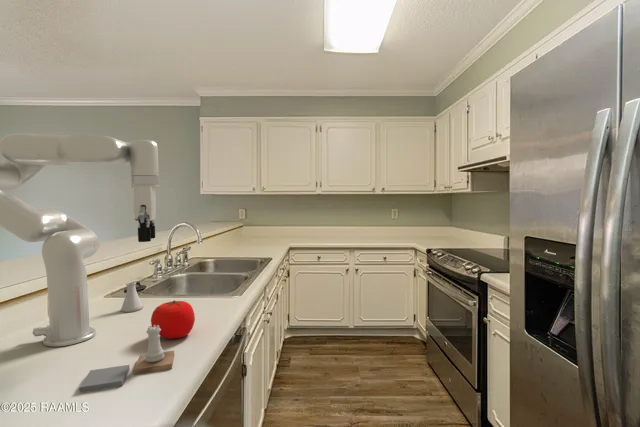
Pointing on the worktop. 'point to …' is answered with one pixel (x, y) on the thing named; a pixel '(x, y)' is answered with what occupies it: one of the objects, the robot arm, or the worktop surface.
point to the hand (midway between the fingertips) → (147, 240)
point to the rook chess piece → (154, 345)
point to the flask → (131, 299)
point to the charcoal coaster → (104, 378)
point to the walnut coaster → (154, 364)
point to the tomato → (173, 319)
